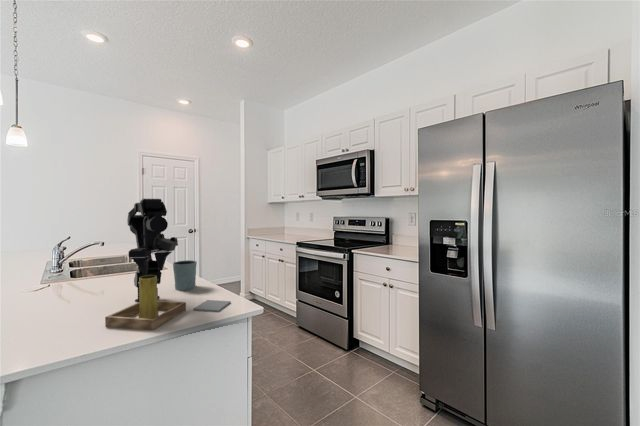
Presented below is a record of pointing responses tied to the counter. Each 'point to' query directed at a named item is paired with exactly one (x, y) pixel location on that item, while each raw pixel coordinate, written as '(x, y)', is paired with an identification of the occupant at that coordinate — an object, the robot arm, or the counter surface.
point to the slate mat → (212, 305)
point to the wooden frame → (125, 321)
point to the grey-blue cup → (184, 274)
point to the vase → (148, 297)
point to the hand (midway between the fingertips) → (153, 272)
